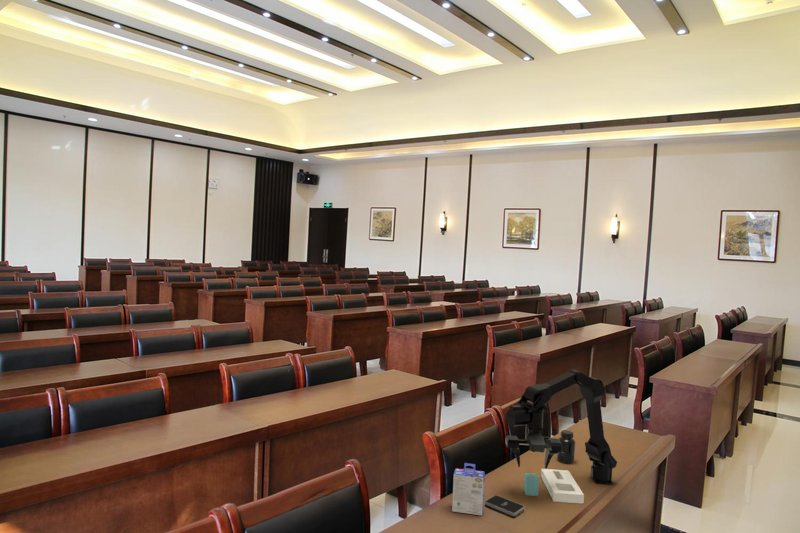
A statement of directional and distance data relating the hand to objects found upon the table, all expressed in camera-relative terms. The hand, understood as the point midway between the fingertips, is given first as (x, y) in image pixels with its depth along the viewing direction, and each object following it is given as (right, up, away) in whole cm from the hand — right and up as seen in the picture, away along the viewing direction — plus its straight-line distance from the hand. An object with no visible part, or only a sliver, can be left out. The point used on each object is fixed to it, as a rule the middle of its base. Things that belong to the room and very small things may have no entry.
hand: (532, 467), depth 178 cm
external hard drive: (-12, -9, -12) cm, 20 cm away
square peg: (-1, -9, 0) cm, 9 cm away
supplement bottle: (+22, -10, +31) cm, 39 cm away
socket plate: (+11, -9, +4) cm, 15 cm away
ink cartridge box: (-25, -8, -14) cm, 30 cm away
